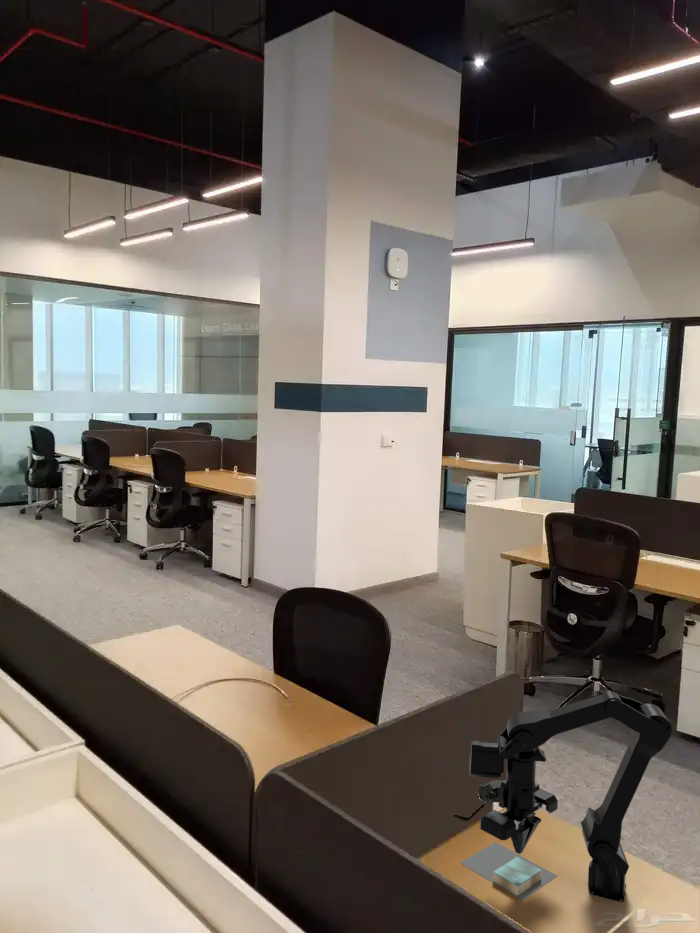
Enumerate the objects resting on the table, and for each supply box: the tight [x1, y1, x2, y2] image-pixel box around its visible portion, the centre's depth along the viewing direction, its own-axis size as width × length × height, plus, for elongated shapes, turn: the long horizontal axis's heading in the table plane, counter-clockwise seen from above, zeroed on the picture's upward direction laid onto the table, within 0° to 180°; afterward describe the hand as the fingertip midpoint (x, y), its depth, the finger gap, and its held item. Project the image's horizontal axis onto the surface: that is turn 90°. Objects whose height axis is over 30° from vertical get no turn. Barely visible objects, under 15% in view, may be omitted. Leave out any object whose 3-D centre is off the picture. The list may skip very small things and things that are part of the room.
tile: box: [493, 857, 541, 896], centre depth 154 cm, size 6×2×8 cm
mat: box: [460, 841, 558, 901], centre depth 157 cm, size 16×12×1 cm
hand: (518, 852), depth 153 cm, fingers closed
